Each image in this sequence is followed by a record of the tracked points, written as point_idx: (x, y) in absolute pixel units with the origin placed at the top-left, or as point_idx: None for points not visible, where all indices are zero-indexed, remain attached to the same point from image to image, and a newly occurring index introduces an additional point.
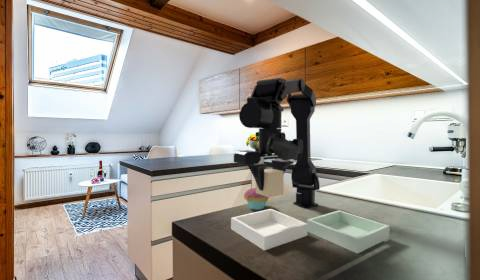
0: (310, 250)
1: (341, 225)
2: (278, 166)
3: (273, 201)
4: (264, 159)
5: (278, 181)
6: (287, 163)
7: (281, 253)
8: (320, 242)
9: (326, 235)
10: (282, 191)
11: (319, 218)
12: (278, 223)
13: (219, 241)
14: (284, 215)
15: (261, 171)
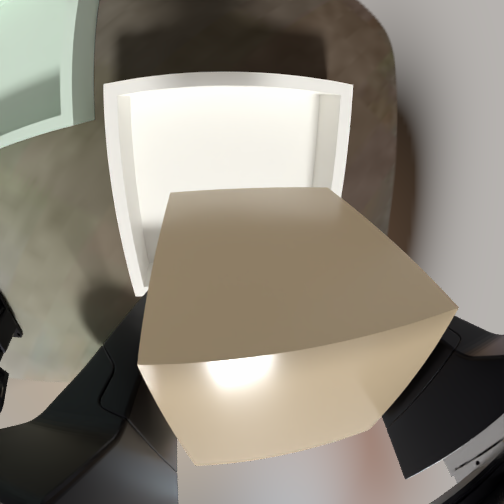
0: (190, 15)
1: None
2: (148, 474)
3: (68, 368)
4: (455, 493)
5: (244, 248)
6: (24, 492)
7: (286, 51)
8: (112, 42)
9: (86, 33)
10: (177, 202)
11: (21, 128)
12: (141, 223)
13: (371, 214)
14: (126, 209)
15: (476, 341)
